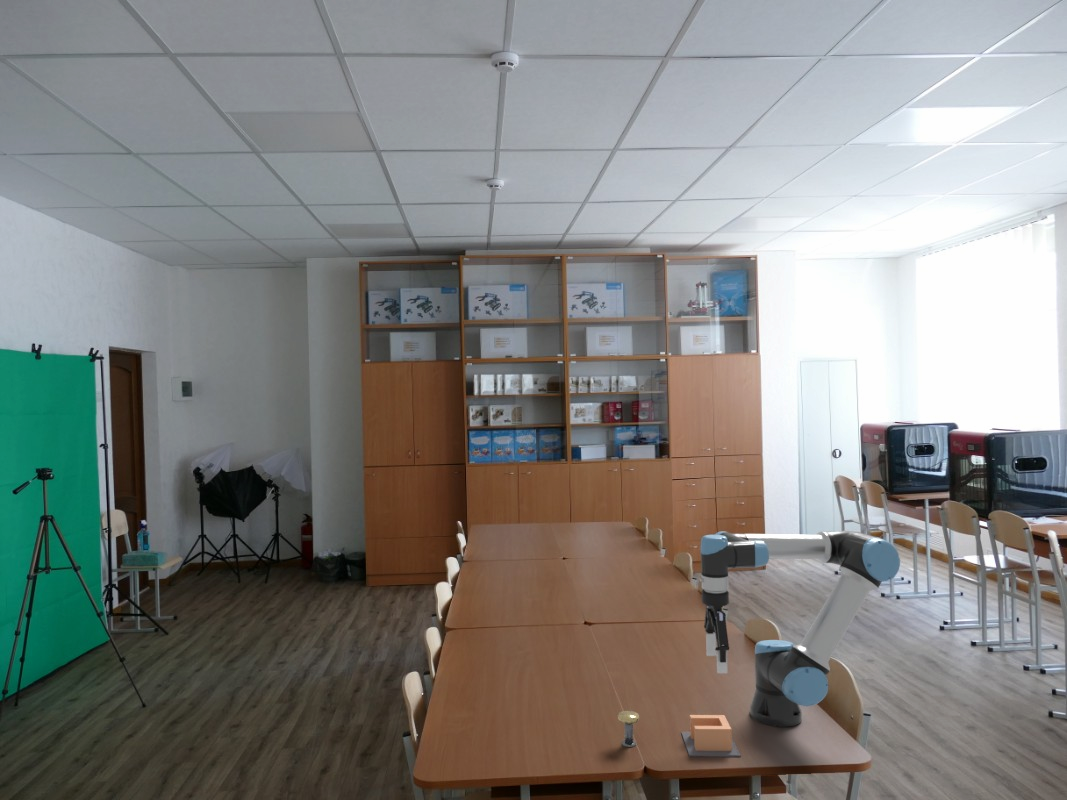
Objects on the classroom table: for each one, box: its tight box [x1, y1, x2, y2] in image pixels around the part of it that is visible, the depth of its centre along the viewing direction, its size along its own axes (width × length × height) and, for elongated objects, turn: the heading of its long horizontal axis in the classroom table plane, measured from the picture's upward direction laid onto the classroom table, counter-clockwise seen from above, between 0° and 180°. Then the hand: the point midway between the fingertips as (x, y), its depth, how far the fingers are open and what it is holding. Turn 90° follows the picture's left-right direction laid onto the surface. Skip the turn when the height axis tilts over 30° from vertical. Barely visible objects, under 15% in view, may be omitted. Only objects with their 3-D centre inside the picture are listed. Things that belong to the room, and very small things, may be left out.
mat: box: [680, 731, 742, 758], centre depth 204 cm, size 14×14×1 cm
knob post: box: [617, 710, 640, 748], centre depth 205 cm, size 6×6×8 cm
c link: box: [689, 714, 733, 751], centre depth 204 cm, size 10×9×6 cm
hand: (716, 664), depth 204 cm, fingers open, 13 cm apart
